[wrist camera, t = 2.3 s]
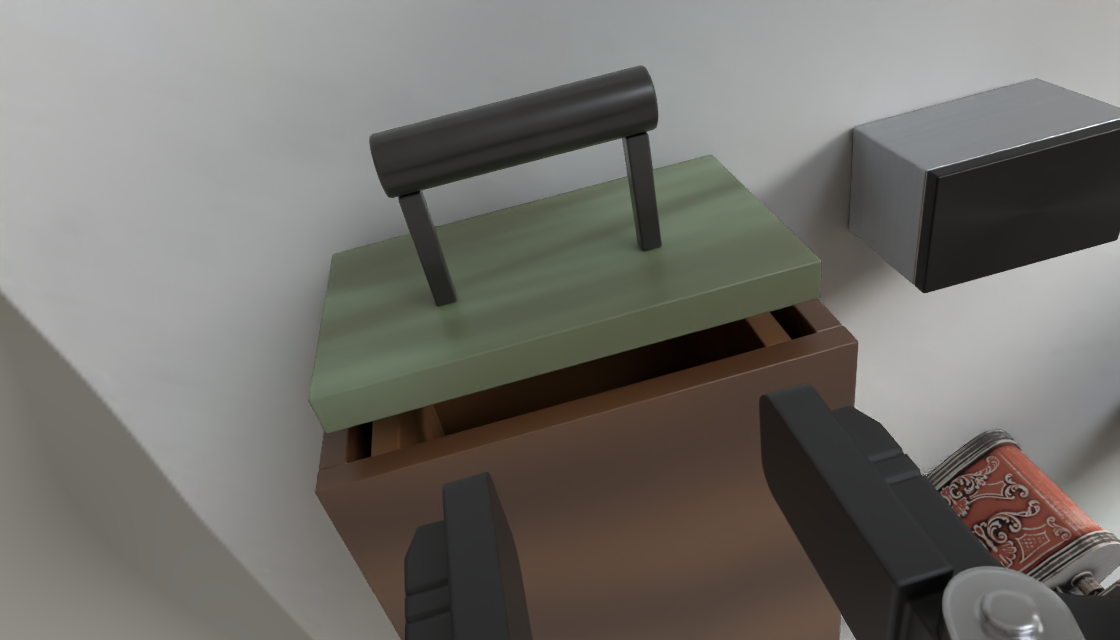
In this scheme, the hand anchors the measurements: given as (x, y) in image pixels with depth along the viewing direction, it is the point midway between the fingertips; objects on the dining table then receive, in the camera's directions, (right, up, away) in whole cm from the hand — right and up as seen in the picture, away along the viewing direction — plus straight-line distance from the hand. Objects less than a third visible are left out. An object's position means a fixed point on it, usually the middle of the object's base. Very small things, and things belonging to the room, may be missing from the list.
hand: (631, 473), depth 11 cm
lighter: (+20, -6, +28) cm, 35 cm away
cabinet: (0, -2, +20) cm, 20 cm away
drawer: (-1, +2, +16) cm, 16 cm away
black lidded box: (+14, +9, +16) cm, 23 cm away
